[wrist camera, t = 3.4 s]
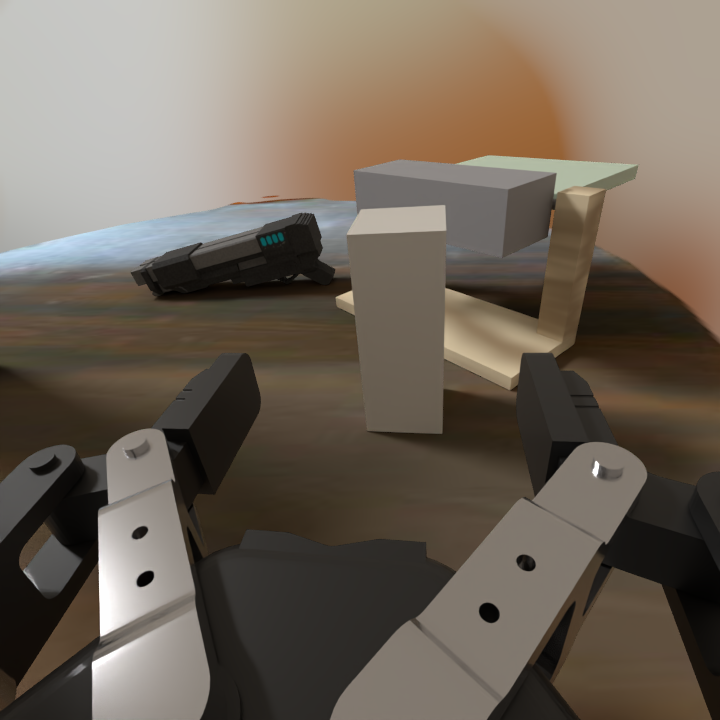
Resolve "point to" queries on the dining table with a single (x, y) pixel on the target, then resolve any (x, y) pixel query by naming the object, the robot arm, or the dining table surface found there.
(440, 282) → the grey rectangular block
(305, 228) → the gun
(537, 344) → the frame
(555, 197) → the trapdoor
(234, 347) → the dining table surface
